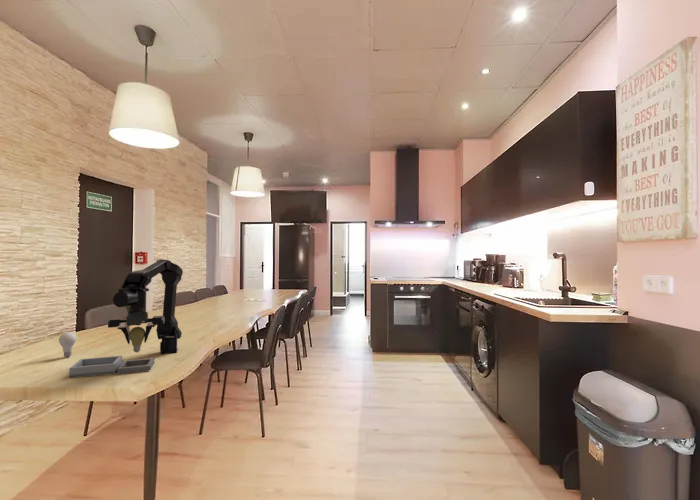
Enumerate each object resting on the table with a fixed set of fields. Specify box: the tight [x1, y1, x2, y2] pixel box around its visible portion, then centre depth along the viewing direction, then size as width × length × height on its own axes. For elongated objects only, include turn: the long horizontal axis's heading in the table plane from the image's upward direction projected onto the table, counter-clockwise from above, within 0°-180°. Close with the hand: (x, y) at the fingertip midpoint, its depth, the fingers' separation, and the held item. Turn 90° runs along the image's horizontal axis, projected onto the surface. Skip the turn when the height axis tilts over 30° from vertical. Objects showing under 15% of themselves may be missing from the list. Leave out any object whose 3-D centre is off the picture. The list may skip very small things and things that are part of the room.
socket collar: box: [116, 357, 156, 375], centre depth 139 cm, size 11×11×2 cm
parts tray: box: [68, 355, 123, 379], centre depth 135 cm, size 14×12×4 cm
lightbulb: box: [58, 331, 78, 358], centre depth 152 cm, size 6×6×11 cm
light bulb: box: [129, 326, 146, 353], centre depth 139 cm, size 6×6×10 cm
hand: (137, 343), depth 139 cm, fingers closed on light bulb, 5 cm apart
